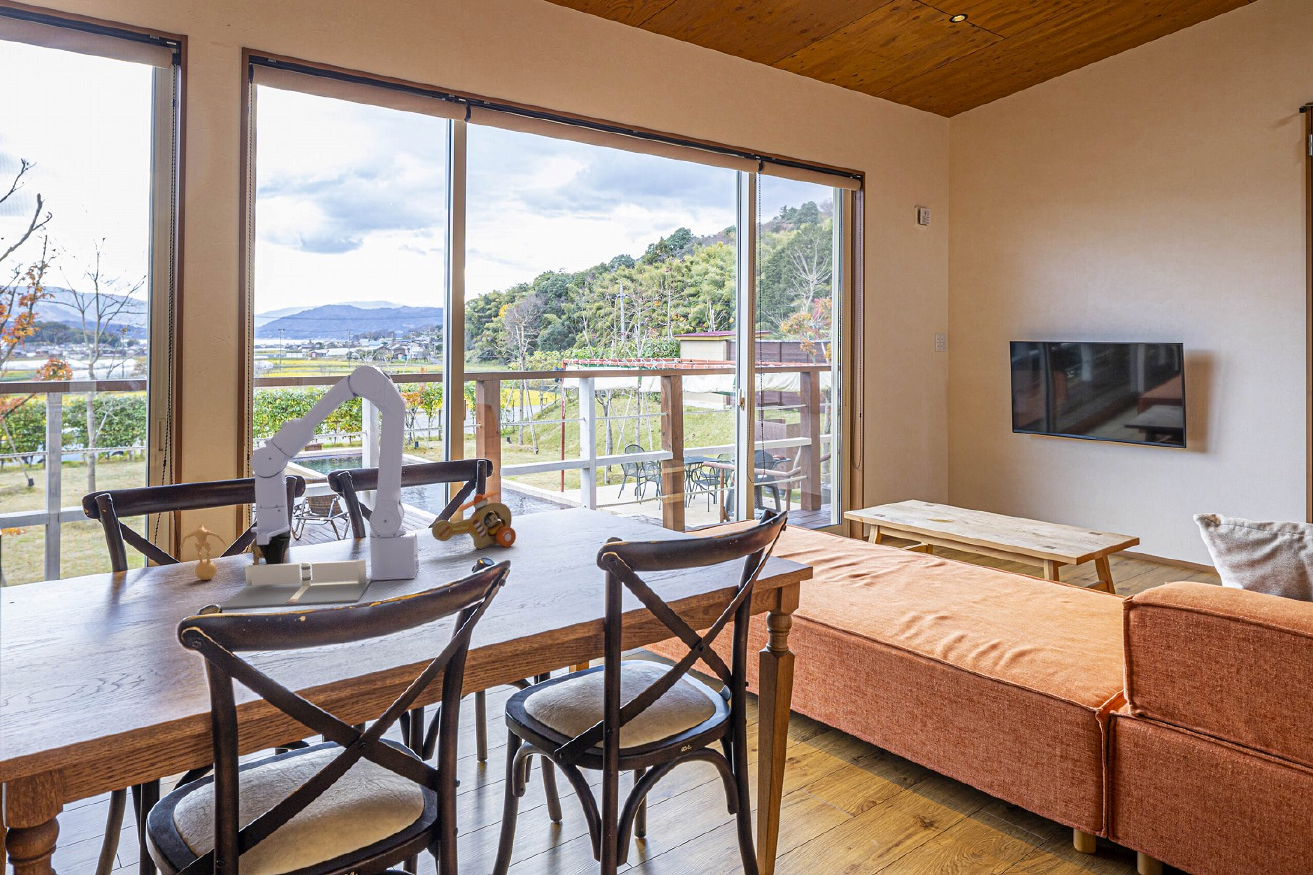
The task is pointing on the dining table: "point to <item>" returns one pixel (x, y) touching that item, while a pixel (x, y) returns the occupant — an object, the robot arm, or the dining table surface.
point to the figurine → (204, 568)
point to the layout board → (297, 594)
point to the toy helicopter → (480, 523)
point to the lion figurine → (256, 553)
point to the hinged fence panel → (272, 574)
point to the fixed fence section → (334, 571)
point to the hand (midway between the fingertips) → (275, 571)
